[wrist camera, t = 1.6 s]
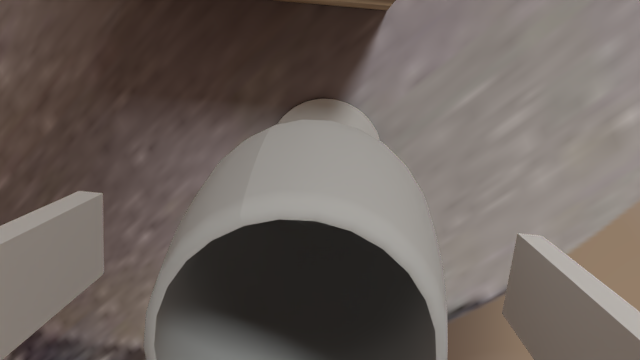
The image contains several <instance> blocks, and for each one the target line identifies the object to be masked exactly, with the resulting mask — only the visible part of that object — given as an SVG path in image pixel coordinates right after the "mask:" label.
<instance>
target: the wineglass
mask: <svg viewBox="0 0 640 360" xmlns="http://www.w3.org/2000/svg"><path fill="white" fill-rule="evenodd" d="M447 349H448V336H447V303H446V289H445V279H444V271H443V263H442V259H441V254H440V249H439V245H438V241H437V237H436V233H435V229H434V226H433V223H432V219H431V216H430V212H429V209H428V206H427V203H426V199H425V196H424V194H423V192H422V190H421V189H420V187H419V186H418V184H417V182H416V181H415V179H414V177H413V176H412V174H411V172H410V171H409V169H408V168H407V166H406V165H405V164H404V163H403V162H402V161H401V160H400V159H399V158H398V157H397V156H396V155H395V154H394V153H393V152H392V151H391V150H390V149H389V148H388V147H387V146H386V145H385V144H384V143H382V142H381V141H380V139H379V136H378V133H377V131H376V129H375V128H374V126H373V124H372V123H371V121H370V120H369V119H368V118H367V117H366V116H365V115H364V114H363V113H362V112H361V111H360V110H359V109H357V108H355V107H354V106H352V105H350V104H348V103H346V102H342V101H339V100H336V99H315V100H311V101H306V102H304V103H302V104H300V105H298V106H296V107H294V108H293V109H291V110H290V111H289V112H288V113H287V114H285V115H284V116H283V117H282V118H281V120H280V121H279V122H278V124H277V125H274V126H272V127H270V128H268V129H266V130H264V131H262V132H259V133H257V134H255V135H253V136H251V137H249V138H248V139H246V140H245V141H243V142H242V143H241V144H240V145H238V146H237V147H236V148H235V149H234V150H233V151H231V152H230V153H229V154H228V155H227V156H225V157H224V158H223V159H222V160H221V161H220V162H219V163H218V165H217V166H216V167H215V169H214V170H213V172H212V173H211V175H210V176H209V177H208V179H207V180H206V182H205V183H204V184H203V186H202V187H201V189H200V190H199V191H198V193H197V194H196V196H195V198H194V199H193V201H192V202H191V204H190V206H189V207H188V209H187V211H186V213H185V215H184V216H183V218H182V220H181V222H180V224H179V226H178V228H177V230H176V232H175V235H174V237H173V239H172V241H171V244H170V246H169V249H168V251H167V254H166V256H165V259H164V261H163V264H162V267H161V270H160V272H159V275H158V278H157V280H156V283H155V286H154V289H153V291H152V294H151V298H150V301H149V305H148V308H147V311H146V320H145V333H144V351H145V356H146V360H447Z"/></svg>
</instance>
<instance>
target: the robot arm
mask: <svg viewBox="0 0 640 360" xmlns="http://www.w3.org/2000/svg"><path fill="white" fill-rule="evenodd" d="M103 274H104V233H103V193H96V192H85V191H78V192H75V193H73V194H71V195H69V196H66V197H64V198H62V199H60V200H57V201H55V202H53V203H51V204H48V205H46V206H44V207H42V208H39V209H37V210H35V211H33V212H30V213H28V214H26V215H24V216H21V217H19V218H17V219H15V220H12V221H10V222H8V223H6V224H3V225H1V226H0V360H3V359H4V358H5V357H6V356H7V355H9V354H10V353H11V352H12V351H13V350H14V349H16V348H17V347H18V346H19V345H20V344H22V343H23V342H24V341H25V340H26V339H27V338H29V337H30V336H31V335H32V334H33V333H35V332H36V331H37V330H38V329H39V328H40V327H42V326H43V325H44V324H45V323H46V322H48V321H49V320H50V319H51V318H52V317H53V316H55V315H56V314H57V313H58V312H59V311H61V310H62V309H63V308H64V307H65V306H66V305H68V304H69V303H70V302H71V301H72V300H74V299H75V298H76V297H77V296H78V295H80V294H81V293H82V292H83V291H84V290H85V289H87V288H88V287H89V286H90V285H91V284H93V283H94V282H95V281H96V280H97V279H98V278H100V277H101V276H102V275H103ZM502 314H503V315H504V317H505V318H506V320H507V321H508V323H509V324H510V325H511V327H512V328H513V330H514V331H515V333H516V334H517V335H518V337H519V339H520V340H521V341H522V343H523V344H524V346H525V347H526V349H527V350H528V351H529V353H530V354H531V356H532V357H533V359H534V360H640V312H639V311H638V310H637V309H635V308H634V307H633V306H631V305H630V304H629V303H628V302H626V301H625V300H624V299H623V298H621V297H620V296H619V295H618V294H616V293H615V292H614V291H612V290H611V289H610V288H609V287H607V286H606V285H605V284H603V283H602V282H601V281H600V280H598V279H597V278H596V277H594V276H593V275H592V274H591V273H589V272H588V271H587V270H585V269H584V268H583V267H582V266H580V265H579V264H578V263H577V262H575V261H574V260H573V259H571V258H570V257H569V256H568V255H566V254H565V253H564V252H562V251H561V250H560V249H559V248H557V247H556V246H555V245H553V244H552V243H551V242H550V241H548V240H547V239H546V238H544V237H543V236H540V235H530V234H519V233H518V234H517V239H516V244H515V249H514V254H513V260H512V265H511V270H510V275H509V280H508V285H507V291H506V296H505V301H504V306H503V311H502Z"/></svg>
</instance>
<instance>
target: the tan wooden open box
mask: <svg viewBox="0 0 640 360" xmlns="http://www.w3.org/2000/svg"><path fill="white" fill-rule="evenodd" d="M275 1H286V2H298V3H309V4H320V5H331V6H342V7H354V8H365V9H376V10H388V9H389V8H390V6H391V5H392V4H393V3H394V1H395V0H275Z"/></svg>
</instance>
